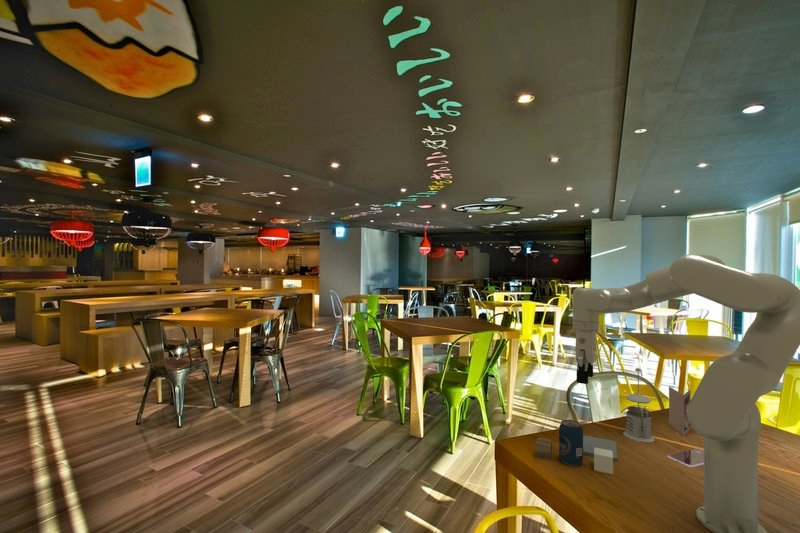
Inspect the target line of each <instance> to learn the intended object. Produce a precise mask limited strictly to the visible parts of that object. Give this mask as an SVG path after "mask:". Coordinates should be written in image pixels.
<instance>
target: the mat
mask: <svg viewBox="0 0 800 533" xmlns="http://www.w3.org/2000/svg"><path fill="white" fill-rule="evenodd" d="M594 447H596V448H601V449H606V450H611V451H613V462H618V451H617V443H616V440H615V441H614V440H610V439H605V438H599V437H594V436H589V435H584V434H583V456H584V455H585V456H589V457H593V458H594Z"/></svg>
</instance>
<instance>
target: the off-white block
mask: <svg viewBox="0 0 800 533" xmlns="http://www.w3.org/2000/svg"><path fill="white" fill-rule="evenodd" d="M593 471H596V472H599V473H605V474H609V475H614V461H613V451H611V450H606V449H601V448H596V447H594V457H593Z"/></svg>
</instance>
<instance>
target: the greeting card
mask: <svg viewBox="0 0 800 533" xmlns="http://www.w3.org/2000/svg"><path fill="white" fill-rule="evenodd" d="M691 391H692V390H691V388H690V389H688V391H686V392H684V393H683V394H682V393H681V392H679V391H678V390H676V389H674V388H673V387H671V386H668V416H669V417H668V423H669V424H668V425H669V426H671V427H673V429H674V430H676V431H677V432H678V433H680V434H681V435H682V436H685V435H687V433H688V432H689V431H690V429H691V428H692V426H691V424H690V422H689V420H688V416H687V409H688V405H689V402H690V400H691V398H692V393H691Z"/></svg>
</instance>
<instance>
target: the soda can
mask: <svg viewBox="0 0 800 533" xmlns="http://www.w3.org/2000/svg"><path fill="white" fill-rule="evenodd" d="M583 435H584V430H583V428H582V424H581V423H580V422H578V421H576V420H574V419H573V420H572V419H563V420H561V422H560V423H559V426H558V456H559V459H560V461H561V462H562V463H564V464H566V465H568V466H572V467H577V466H578V467H579V466H580V465H581V464H582V463H583V461H584V455H583Z"/></svg>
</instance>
